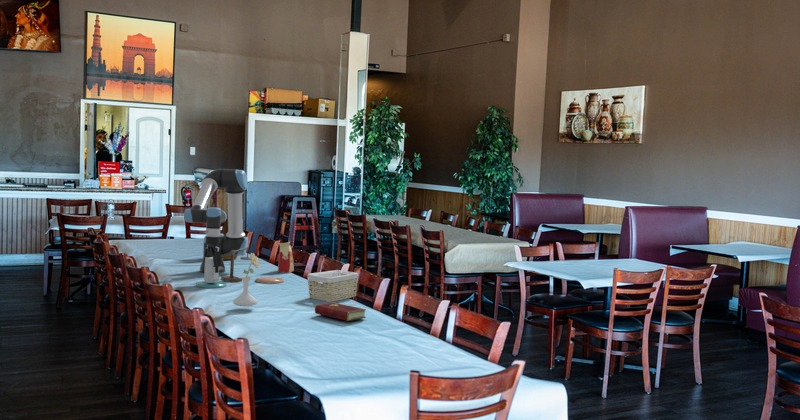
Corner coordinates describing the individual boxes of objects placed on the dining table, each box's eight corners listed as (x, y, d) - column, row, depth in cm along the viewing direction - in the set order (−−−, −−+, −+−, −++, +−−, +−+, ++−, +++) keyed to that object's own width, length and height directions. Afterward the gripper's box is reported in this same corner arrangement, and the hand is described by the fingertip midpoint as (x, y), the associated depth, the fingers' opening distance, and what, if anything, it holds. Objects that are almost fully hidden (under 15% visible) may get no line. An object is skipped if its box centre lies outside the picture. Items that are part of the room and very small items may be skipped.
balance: (204, 280, 407) (205, 246, 406) (247, 277, 425) (248, 245, 424) (214, 283, 398) (215, 249, 397) (257, 280, 416) (259, 247, 415)
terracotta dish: (250, 280, 415) (250, 278, 415) (274, 278, 426) (274, 276, 426) (264, 284, 403) (264, 282, 403) (289, 282, 414) (289, 280, 414)
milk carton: (293, 272, 456) (295, 240, 454) (290, 274, 446) (291, 242, 445) (279, 271, 456) (280, 240, 455) (275, 273, 447) (277, 241, 446)
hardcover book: (347, 321, 319) (348, 311, 318) (314, 313, 332) (314, 304, 332) (365, 317, 328) (366, 308, 328) (332, 310, 341) (333, 301, 341)
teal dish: (190, 284, 390) (190, 282, 390) (217, 282, 401) (218, 280, 401) (204, 289, 378) (204, 286, 378) (231, 287, 389) (231, 284, 389)
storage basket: (328, 306, 362) (329, 277, 361) (304, 301, 371) (305, 273, 370) (358, 300, 381) (359, 272, 380) (336, 296, 390) (337, 269, 390)
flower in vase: (245, 309, 332) (247, 255, 330) (227, 305, 338) (229, 252, 336) (264, 305, 343) (266, 253, 341) (247, 302, 349) (249, 250, 347)
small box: (218, 282, 387) (219, 258, 387) (206, 283, 385) (207, 258, 384) (215, 280, 395) (216, 256, 394) (203, 280, 392) (204, 256, 391)
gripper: (197, 234, 394) (196, 274, 395) (215, 238, 378) (214, 280, 379) (210, 234, 399) (208, 274, 400) (228, 238, 383) (227, 279, 384)
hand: (211, 277), depth 390 cm, fingers closed on small box, 9 cm apart
